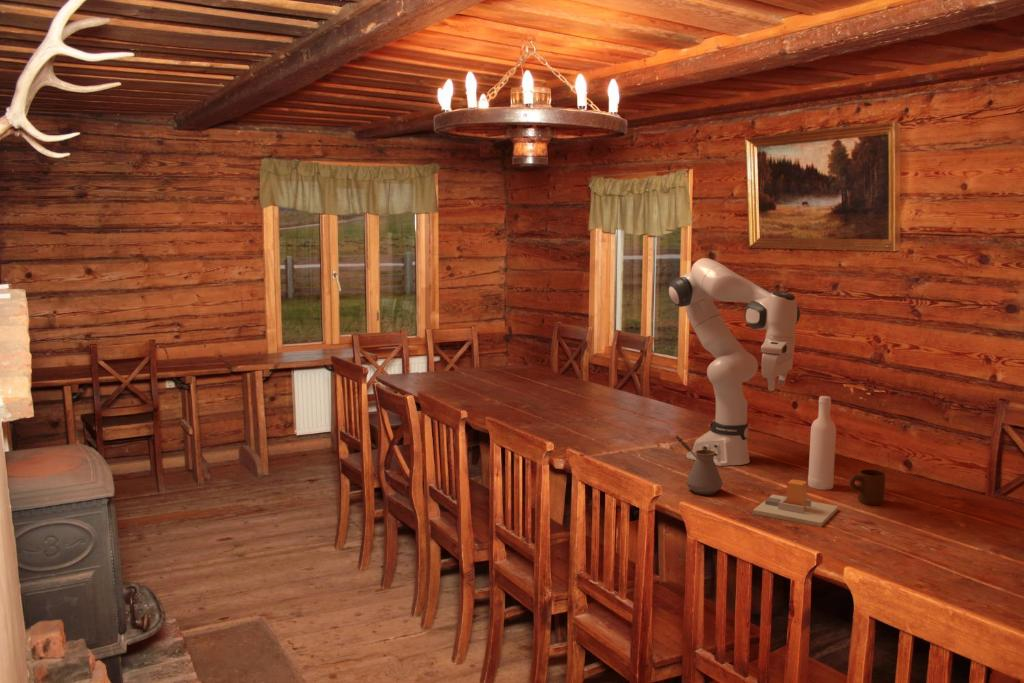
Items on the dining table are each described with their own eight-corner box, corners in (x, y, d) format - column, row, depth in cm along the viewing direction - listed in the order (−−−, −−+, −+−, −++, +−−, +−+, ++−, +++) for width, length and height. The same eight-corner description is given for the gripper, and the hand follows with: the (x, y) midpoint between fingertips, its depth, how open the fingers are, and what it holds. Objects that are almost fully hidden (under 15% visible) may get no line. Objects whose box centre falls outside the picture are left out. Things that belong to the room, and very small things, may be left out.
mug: (856, 508, 273) (858, 478, 272) (840, 500, 280) (842, 471, 279) (889, 504, 277) (891, 474, 276) (872, 497, 284) (874, 468, 283)
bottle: (834, 490, 290) (839, 399, 286) (809, 489, 292) (814, 398, 288) (831, 483, 298) (836, 394, 294) (806, 482, 300) (810, 393, 295)
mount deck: (753, 513, 268) (753, 503, 268) (772, 498, 283) (773, 488, 282) (821, 526, 257) (821, 516, 256) (837, 509, 272) (838, 499, 271)
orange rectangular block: (786, 508, 269) (787, 482, 268) (790, 504, 273) (792, 479, 272) (801, 511, 267) (802, 485, 265) (805, 507, 270) (807, 481, 269)
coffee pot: (729, 493, 287) (731, 447, 285) (701, 498, 282) (703, 452, 280) (687, 476, 306) (689, 433, 304) (660, 480, 301) (661, 437, 299)
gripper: (780, 339, 289) (776, 381, 291) (759, 347, 272) (755, 391, 274) (799, 341, 286) (796, 383, 288) (779, 349, 269) (776, 394, 271)
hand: (776, 387), depth 281 cm, fingers open, 8 cm apart
